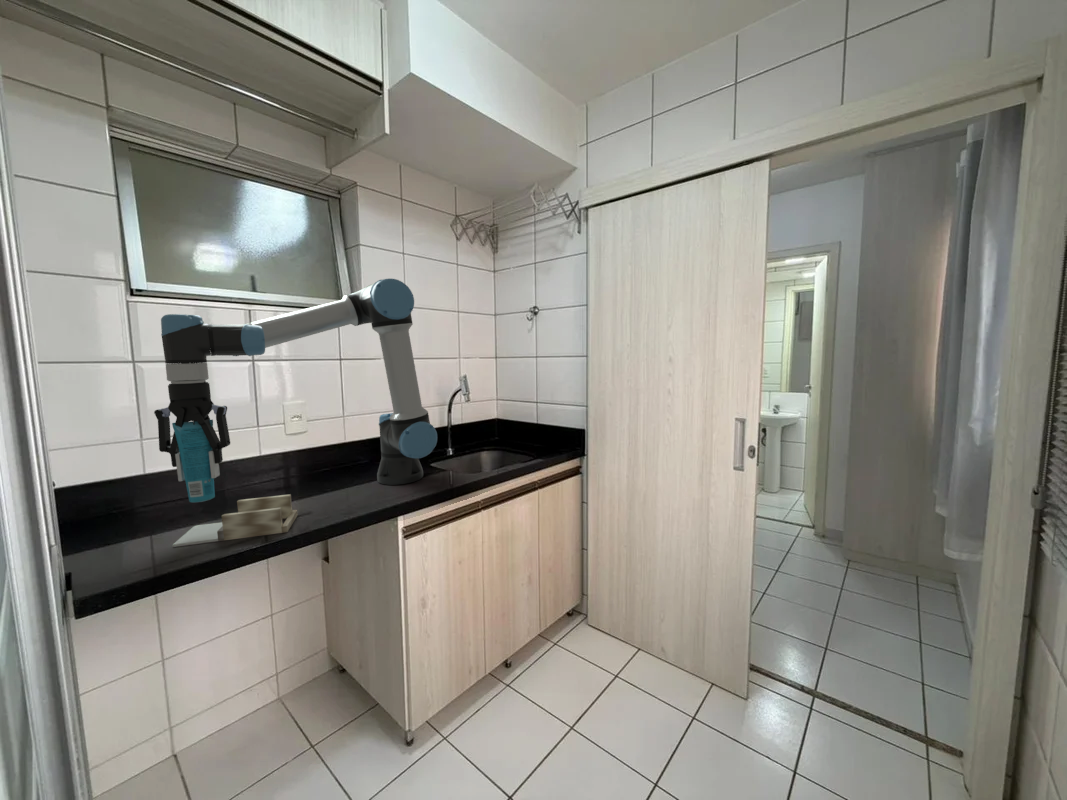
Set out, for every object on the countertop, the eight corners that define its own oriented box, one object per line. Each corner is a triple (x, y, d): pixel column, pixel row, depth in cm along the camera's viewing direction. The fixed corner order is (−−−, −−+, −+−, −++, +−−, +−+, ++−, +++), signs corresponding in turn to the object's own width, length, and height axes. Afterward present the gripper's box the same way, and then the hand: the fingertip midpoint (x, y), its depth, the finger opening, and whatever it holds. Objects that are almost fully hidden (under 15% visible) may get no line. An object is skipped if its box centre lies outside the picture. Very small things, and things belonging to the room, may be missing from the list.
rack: (297, 515, 113) (295, 493, 112) (287, 531, 102) (285, 508, 102) (235, 522, 108) (233, 500, 108) (218, 541, 98) (215, 516, 97)
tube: (219, 493, 105) (211, 418, 103) (222, 498, 101) (213, 420, 99) (181, 501, 100) (171, 421, 98) (182, 506, 96) (172, 424, 94)
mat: (236, 522, 108) (236, 520, 108) (219, 540, 98) (219, 538, 98) (195, 527, 106) (194, 525, 106) (172, 547, 95) (172, 544, 95)
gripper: (241, 379, 104) (250, 469, 107) (148, 382, 98) (159, 477, 101) (229, 381, 97) (239, 478, 99) (128, 384, 91) (142, 487, 94)
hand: (199, 477), depth 100 cm, fingers closed on tube, 6 cm apart
